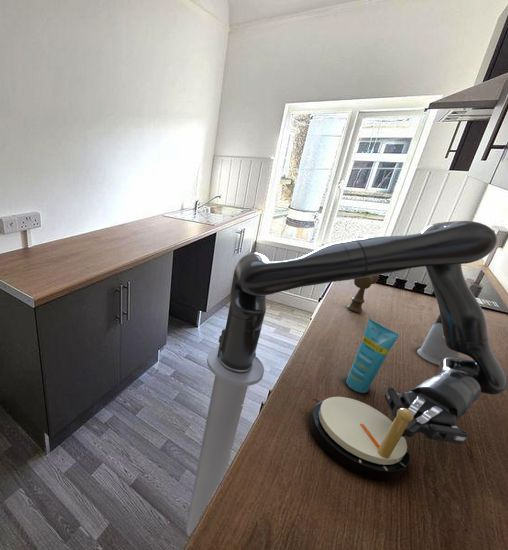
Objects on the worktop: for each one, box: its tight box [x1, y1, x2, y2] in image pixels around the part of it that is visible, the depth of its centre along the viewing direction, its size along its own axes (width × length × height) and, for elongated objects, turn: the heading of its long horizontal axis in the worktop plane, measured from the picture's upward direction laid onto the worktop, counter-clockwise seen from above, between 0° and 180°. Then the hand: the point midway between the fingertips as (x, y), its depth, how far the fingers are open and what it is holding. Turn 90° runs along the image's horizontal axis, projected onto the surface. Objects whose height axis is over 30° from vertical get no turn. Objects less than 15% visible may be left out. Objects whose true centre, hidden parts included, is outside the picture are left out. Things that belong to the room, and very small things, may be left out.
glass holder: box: [416, 313, 460, 366], centre depth 90 cm, size 9×14×15 cm, turn 110°
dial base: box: [309, 400, 411, 483], centre depth 63 cm, size 17×17×3 cm
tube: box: [345, 317, 400, 394], centre depth 75 cm, size 7×5×19 cm, turn 19°
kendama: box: [347, 275, 380, 313], centre depth 115 cm, size 6×10×20 cm, turn 130°
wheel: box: [319, 396, 414, 465], centre depth 60 cm, size 15×15×13 cm
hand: (400, 430), depth 53 cm, fingers closed
